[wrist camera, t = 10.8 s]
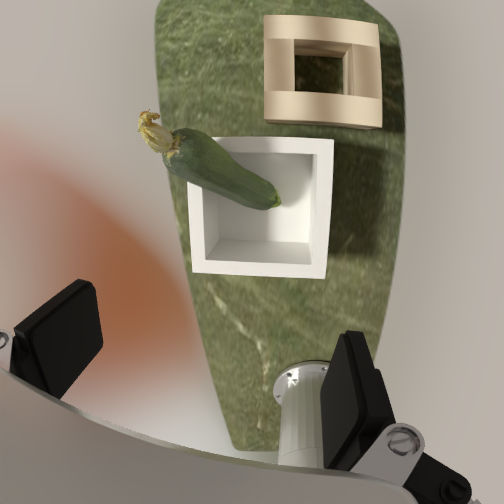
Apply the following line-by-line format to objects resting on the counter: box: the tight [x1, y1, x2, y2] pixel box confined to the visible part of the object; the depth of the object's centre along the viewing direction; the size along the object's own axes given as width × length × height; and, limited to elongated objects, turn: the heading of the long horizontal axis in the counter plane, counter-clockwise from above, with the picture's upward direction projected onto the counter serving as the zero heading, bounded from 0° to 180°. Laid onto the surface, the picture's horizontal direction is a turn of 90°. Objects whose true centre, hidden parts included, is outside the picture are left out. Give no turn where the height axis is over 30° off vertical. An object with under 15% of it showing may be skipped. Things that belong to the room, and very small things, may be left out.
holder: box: [264, 15, 382, 130], centre depth 28 cm, size 12×12×6 cm
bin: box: [187, 137, 334, 279], centre depth 33 cm, size 14×14×8 cm
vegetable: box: [138, 109, 282, 210], centre depth 27 cm, size 4×4×20 cm
